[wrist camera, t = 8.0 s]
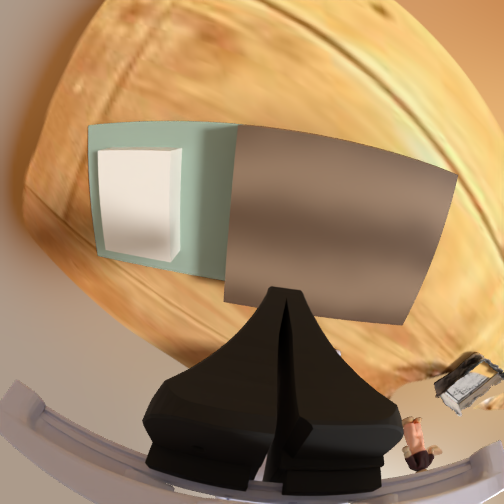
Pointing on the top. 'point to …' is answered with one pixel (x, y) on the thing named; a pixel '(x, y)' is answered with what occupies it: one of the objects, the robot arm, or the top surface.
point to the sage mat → (192, 188)
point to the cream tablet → (141, 200)
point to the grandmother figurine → (416, 446)
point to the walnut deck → (332, 223)
